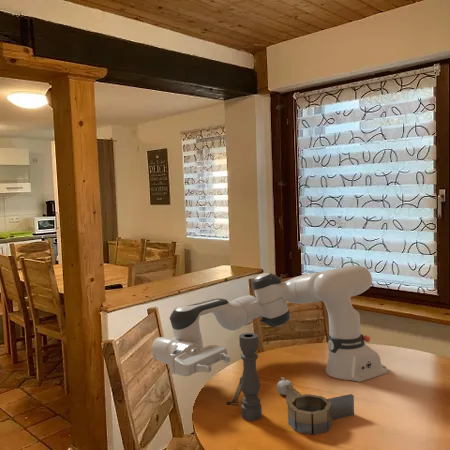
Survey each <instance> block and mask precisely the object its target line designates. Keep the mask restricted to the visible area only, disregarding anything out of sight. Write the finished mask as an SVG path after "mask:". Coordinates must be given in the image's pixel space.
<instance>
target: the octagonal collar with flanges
mask: <svg viewBox="0 0 450 450" xmlns="http://www.w3.org/2000/svg"><path fill="white" fill-rule="evenodd" d="M285 396H286V398H285V399H286V400H285V401H286V404H287V418H288V419H287V421H288V425H289V426H290V428H292V429H293V430H294V431H295V432H297V433H300V434H306V435H309V436H311V435H313V436H315V435H319V434H323V433H327V432H329V431H330V429H331V427H332V426H333V420H337V419H342V418H346V417H351V416H355V396H354V394H352V393H349V394H345V395H340V396H335V397H330V398H329V397H328V398H326V396H325V397H324V396H323V395H316V394H310V393H308V394H307V393H306V394H301V393H300V392H299V391H298V390H297V389H296V388H294V386H293V387H292V386H291V385H290V384H288V385H286V395H285Z"/></svg>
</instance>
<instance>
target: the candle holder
mask: <svg viewBox="0 0 450 450" xmlns="http://www.w3.org/2000/svg"><path fill="white" fill-rule="evenodd" d="M238 337H239V338H238V339H239V348H240V351H241V354H240V358H241V360H242V361H243V362H242V363H243V364H242V365H243V371H242V376H241V377H242V380H241V392H242V393H243V398H242V399H241V406H240V407H241V409H240V410H241V418H242V419H243V420H245V421H248V422H253V421H254V422H255V421H258V420H260V419H262V416H263V409H262V407H263V406H262V403H261V399H260V398H259V396H258V395H259V392H260V390H261V388H262V387H261V382H260V378H259V375H258V370H257V359H258V358H259V354H258V353H257V350H258V348H259V335H258V334H257V333H254V332H244V333H241V334H239V336H238Z"/></svg>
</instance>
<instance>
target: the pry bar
mask: <svg viewBox="0 0 450 450" xmlns="http://www.w3.org/2000/svg"><path fill="white" fill-rule="evenodd" d="M241 380H242V376H241V377H240V378H239V382H238V385H237V387H236V390H235V393H234V396H233V398H232V401H227V400H226V406H238V407H239V406H240V405H239V400H238V398H239V395H240V393H241V392H242V390H241Z"/></svg>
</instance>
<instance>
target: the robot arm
mask: <svg viewBox="0 0 450 450" xmlns="http://www.w3.org/2000/svg"><path fill="white" fill-rule="evenodd" d="M282 280H283V278H282V277H281V276H280V277H279V276H278V275H276V274H275V273H272V272H269V273H268V272H265V273H260V274H258V275H257V276H255V278H253V280H252V282H251V284H252V285H251V286H252V290H253V291H254V295H249V294H248V295H243V296H240V297H237V298H234V299H231V300H230V301H228V299H226V298H215V299H214V298H213V299H208V300H204V301H200V302H198V303H194V304H189V305H182V306H178V307H176V308H174V309H173V311H172V312H171V313H170V316H169V321H170V324H171V327H172V331H173V337H164V336H159V337H156V338H155V339H154V340H153V342H152V344H151V353H152V354H151V355H152V357H153V358H154V359H155V360H157V361H159V362H160V363H163V364H166V365H169V370H170V374H172V375H178V376H182V377H190V376H192V375H193V374H196V373H210V372H211V371H212V366H213V365H215V364H216V363H219V362H222V361H223V363H226V364H227V363H230V362H231V357H230V356H229V355H228V350H227V348H226V346H222V345H215V344H213V345H212V344H210V345H207V346H204V343H203V337H202V333H201V326H200V317H201V316H205V315H207V314H211V313H212V314H213V316H214V317H215V319H216V322H217V323H218V324H219V325H220V326H221V327H222V328H224V329H225V330H228V331H236V330H239V329H241V328H243V327H245V326H246V325H248V324H249V323H251V321H253V320H255V319H257V318H260V319H259V322H260V323H262V324H265V325H266V326H268V327H272V328H275V327H282V326H283V325H285V324H286V323H288V322H289V321H290V318H291V314H290V309H288V303H291V304H311V303H317V302H323V303H324V305H325V308H326V311H327V316H328V331H329V332H328V335H327V345H328V347H327V348H328V357H327V364H326V367H325V373H326V374H327V375H328V376H330V377H331V378H336V379H339V380H345V381H346V380H347V381H354V382H357V383H358V382H363V381H367V380H369V379H372V378H373V379H374V378H375V377H379V376H381V375H385V374H388V373H389V369H388V367H387V366H386V365H384V364H383V363H382V361H381V357H380V354H378V352H377V351H376V350H374V349H373V348H371V347H370V346H369V345H367V344H366V343H370V341H371V337H370V336H368V335H367V334H365V335H363V334H362V333H361V315H360V313H359V311H357V310H356V309H355V308H354V307H353V305H352V300H351V299H352V297H355V296H358V295H361V294H363V293H364V292H366V291H367V290H369V289H370V288H371V286H372V283H373V277H372V274H371V272H370V270H369V269H368V268H366V267H365V266H362V265H347V266H342V267H337V268H333V269H332V268H331V269H328V270H327V269H326V270H324V271H317V272H313V273H312V272H311V273H307V274H301V275H299V276H294V277H292V278H289V279H288V280H286V281H282ZM287 302H288V303H287ZM365 342H366V343H365Z"/></svg>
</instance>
